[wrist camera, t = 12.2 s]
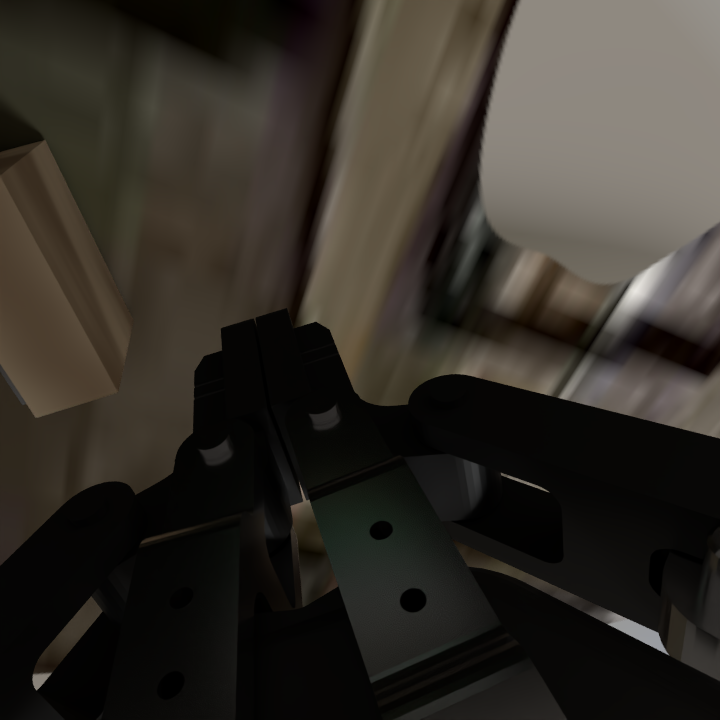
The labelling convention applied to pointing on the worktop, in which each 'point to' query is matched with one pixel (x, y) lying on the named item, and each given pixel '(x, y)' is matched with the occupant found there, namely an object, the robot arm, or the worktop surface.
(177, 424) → the worktop surface
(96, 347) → the block
